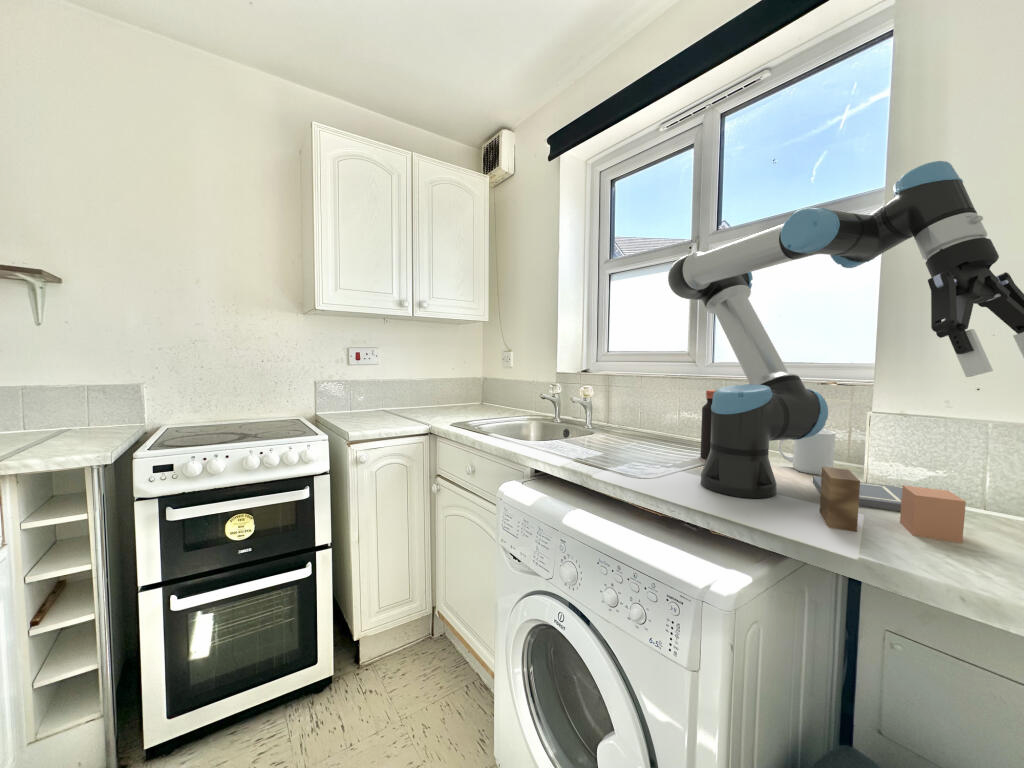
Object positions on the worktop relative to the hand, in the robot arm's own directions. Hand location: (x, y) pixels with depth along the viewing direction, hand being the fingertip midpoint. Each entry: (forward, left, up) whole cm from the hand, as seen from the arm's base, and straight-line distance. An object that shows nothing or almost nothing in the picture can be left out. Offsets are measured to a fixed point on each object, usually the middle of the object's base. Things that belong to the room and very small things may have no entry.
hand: (1013, 372), depth 61 cm
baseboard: (-10, +23, -28) cm, 37 cm away
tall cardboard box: (-19, +4, -28) cm, 34 cm away
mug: (-19, +43, -28) cm, 54 cm away
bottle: (-41, +44, -28) cm, 66 cm away
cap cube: (-6, +6, -28) cm, 29 cm away
